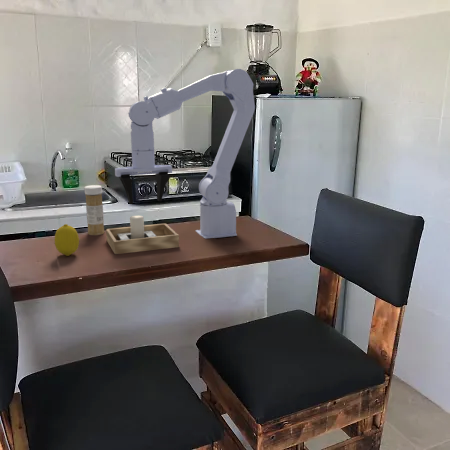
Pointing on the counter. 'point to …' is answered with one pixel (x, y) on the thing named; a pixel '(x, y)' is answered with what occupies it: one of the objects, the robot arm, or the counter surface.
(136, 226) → the peg
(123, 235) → the plate
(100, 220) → the sprinkles bottle
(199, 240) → the counter surface
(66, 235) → the lemon
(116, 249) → the crate
